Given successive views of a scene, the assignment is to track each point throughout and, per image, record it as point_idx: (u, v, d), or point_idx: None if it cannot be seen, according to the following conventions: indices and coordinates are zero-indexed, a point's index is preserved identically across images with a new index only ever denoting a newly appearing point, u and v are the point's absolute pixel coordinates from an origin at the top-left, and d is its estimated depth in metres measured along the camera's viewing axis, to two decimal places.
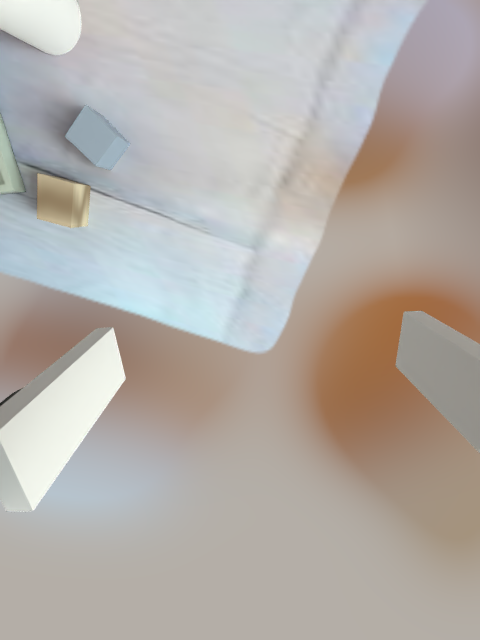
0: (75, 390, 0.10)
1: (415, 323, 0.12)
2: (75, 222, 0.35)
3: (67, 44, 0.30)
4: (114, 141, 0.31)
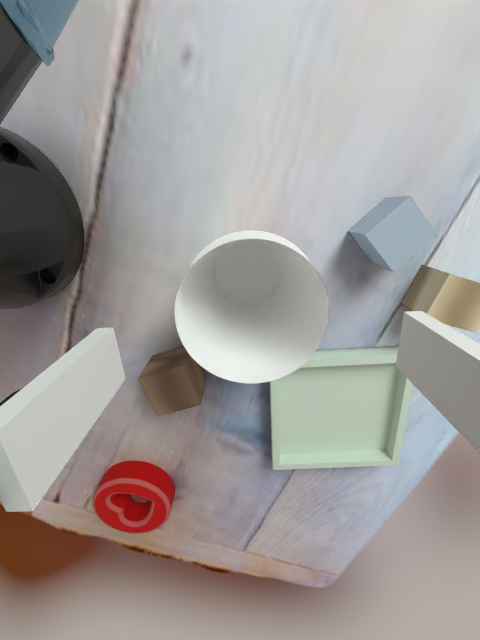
0: (75, 390, 0.10)
1: (415, 323, 0.12)
2: None
3: None
4: (413, 202, 0.21)
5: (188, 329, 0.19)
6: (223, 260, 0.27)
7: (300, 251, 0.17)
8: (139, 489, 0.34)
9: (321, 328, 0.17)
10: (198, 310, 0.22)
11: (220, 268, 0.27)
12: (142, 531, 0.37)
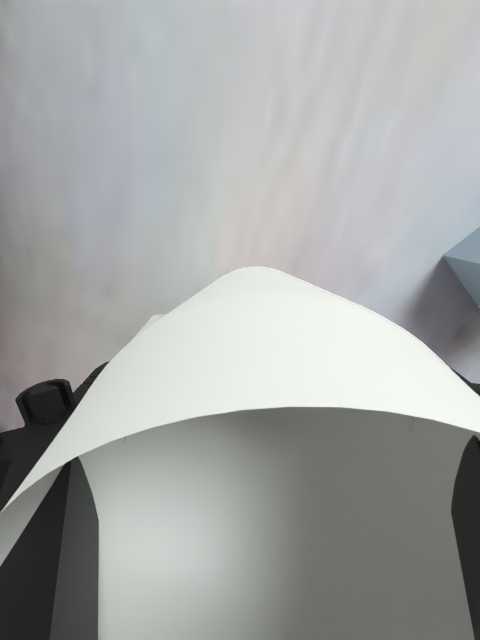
0: None
1: None
2: None
3: None
4: None
5: (102, 540, 0.07)
6: None
7: None
8: None
9: None
10: (149, 440, 0.10)
11: None
12: None
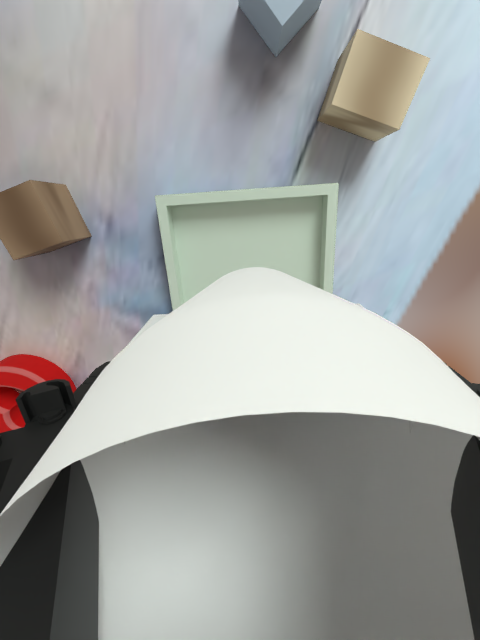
0: None
1: None
2: None
3: None
4: None
5: (101, 543, 0.07)
6: None
7: (456, 375, 0.05)
8: (21, 380, 0.28)
9: None
10: (149, 441, 0.10)
11: None
12: None
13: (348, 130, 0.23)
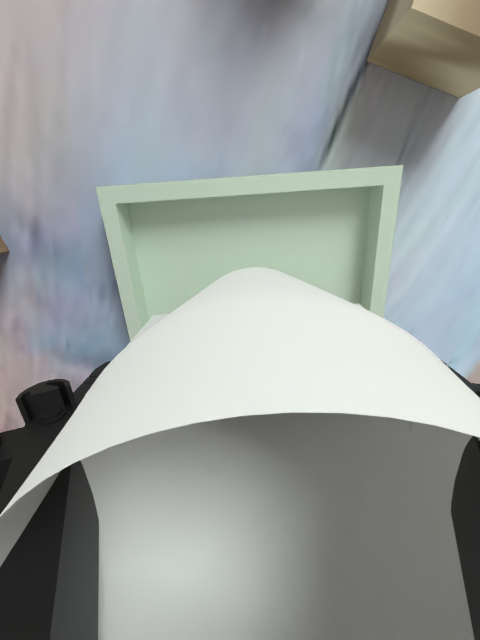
0: None
1: None
2: None
3: None
4: None
5: (101, 544, 0.07)
6: None
7: None
8: None
9: None
10: (149, 441, 0.10)
11: None
12: None
13: (418, 77, 0.13)
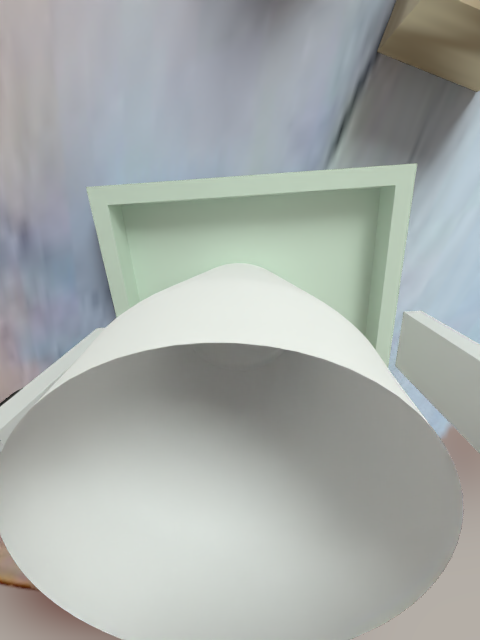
0: None
1: (415, 323, 0.12)
2: None
3: None
4: None
5: (95, 489, 0.09)
6: None
7: (362, 340, 0.06)
8: None
9: (412, 534, 0.07)
10: (138, 413, 0.11)
11: None
12: None
13: (433, 69, 0.13)
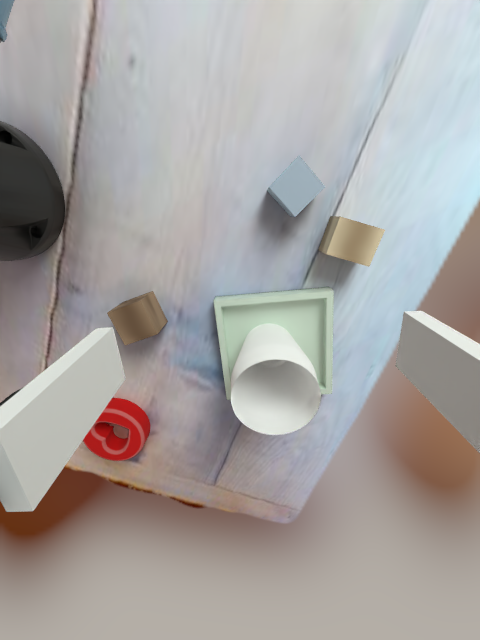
0: (75, 390, 0.10)
1: (415, 323, 0.12)
2: None
3: None
4: (302, 160, 0.28)
5: (235, 399, 0.31)
6: None
7: (303, 357, 0.28)
8: (117, 418, 0.41)
9: (317, 401, 0.29)
10: (238, 381, 0.34)
11: None
12: (122, 458, 0.44)
13: None
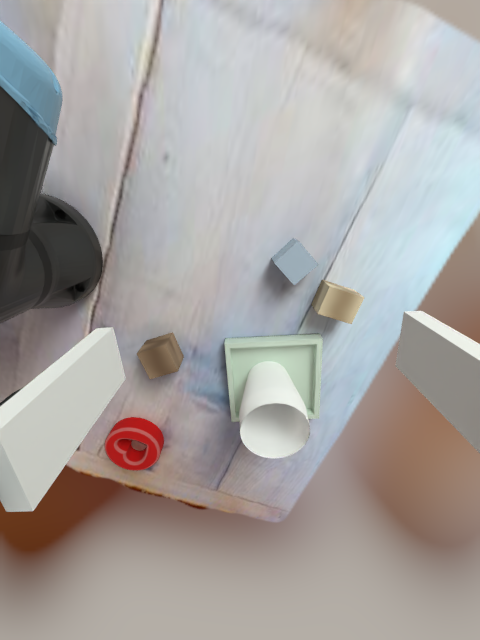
0: (75, 390, 0.10)
1: (415, 323, 0.12)
2: (357, 294, 0.39)
3: None
4: (301, 244, 0.36)
5: (242, 428, 0.38)
6: None
7: (297, 399, 0.36)
8: (137, 435, 0.48)
9: (307, 433, 0.37)
10: None
11: None
12: (140, 469, 0.51)
13: None
